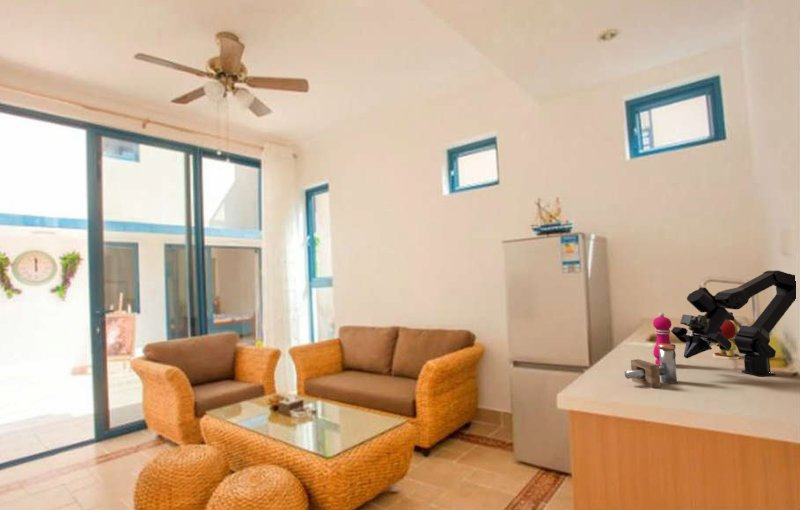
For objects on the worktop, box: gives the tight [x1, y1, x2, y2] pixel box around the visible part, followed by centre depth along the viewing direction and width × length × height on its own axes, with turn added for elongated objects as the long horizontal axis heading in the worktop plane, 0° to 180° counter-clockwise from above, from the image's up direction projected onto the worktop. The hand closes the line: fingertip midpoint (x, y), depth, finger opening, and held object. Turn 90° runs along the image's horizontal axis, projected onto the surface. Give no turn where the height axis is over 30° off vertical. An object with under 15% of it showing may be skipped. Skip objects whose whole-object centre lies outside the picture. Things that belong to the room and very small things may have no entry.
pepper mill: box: [652, 312, 677, 367], centre depth 159 cm, size 7×7×20 cm
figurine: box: [712, 320, 741, 360], centre depth 168 cm, size 9×10×15 cm
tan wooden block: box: [630, 358, 661, 389], centre depth 137 cm, size 3×9×7 cm, turn 8°
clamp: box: [624, 343, 678, 384], centre depth 137 cm, size 18×5×12 cm, turn 98°
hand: (685, 357), depth 139 cm, fingers closed
